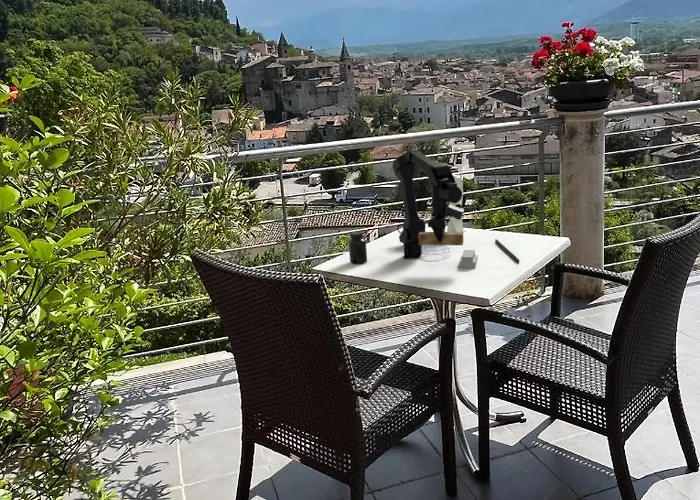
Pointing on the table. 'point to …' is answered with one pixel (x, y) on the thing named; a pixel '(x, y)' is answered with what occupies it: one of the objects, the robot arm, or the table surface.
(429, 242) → the walnut rod
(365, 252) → the supplement bottle
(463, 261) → the ridge block
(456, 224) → the skyscraper
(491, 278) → the table surface
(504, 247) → the rod
